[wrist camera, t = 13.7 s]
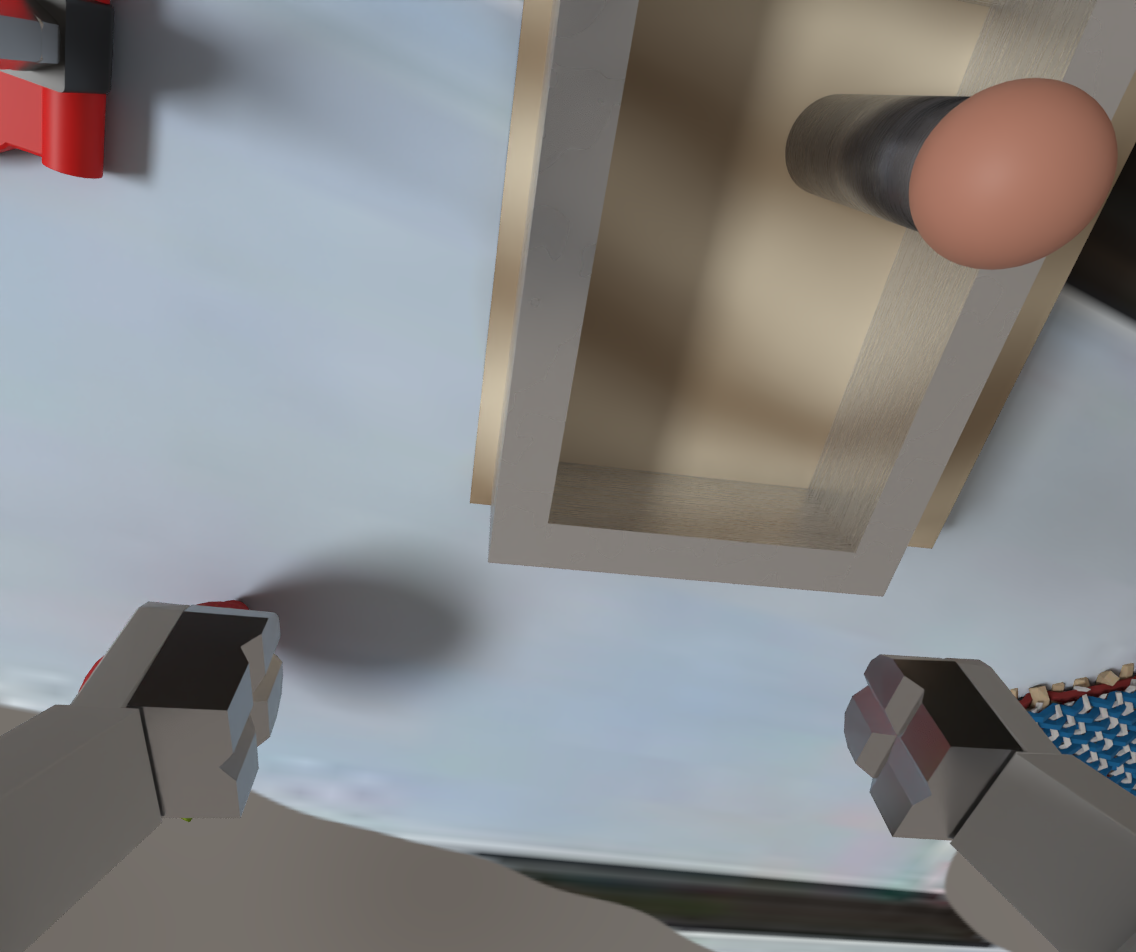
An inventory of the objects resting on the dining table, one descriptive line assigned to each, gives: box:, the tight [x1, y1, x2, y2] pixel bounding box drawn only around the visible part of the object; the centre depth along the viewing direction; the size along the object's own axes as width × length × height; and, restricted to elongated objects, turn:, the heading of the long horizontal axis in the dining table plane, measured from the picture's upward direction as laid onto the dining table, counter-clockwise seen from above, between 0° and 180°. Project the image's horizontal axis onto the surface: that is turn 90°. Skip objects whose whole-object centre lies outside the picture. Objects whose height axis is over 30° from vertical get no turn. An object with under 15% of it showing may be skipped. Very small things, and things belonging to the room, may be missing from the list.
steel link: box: [488, 0, 1136, 596], centre depth 19 cm, size 18×13×4 cm
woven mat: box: [1011, 663, 1136, 796], centre depth 36 cm, size 10×11×2 cm
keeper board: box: [470, 0, 1136, 549], centre depth 16 cm, size 26×18×11 cm
